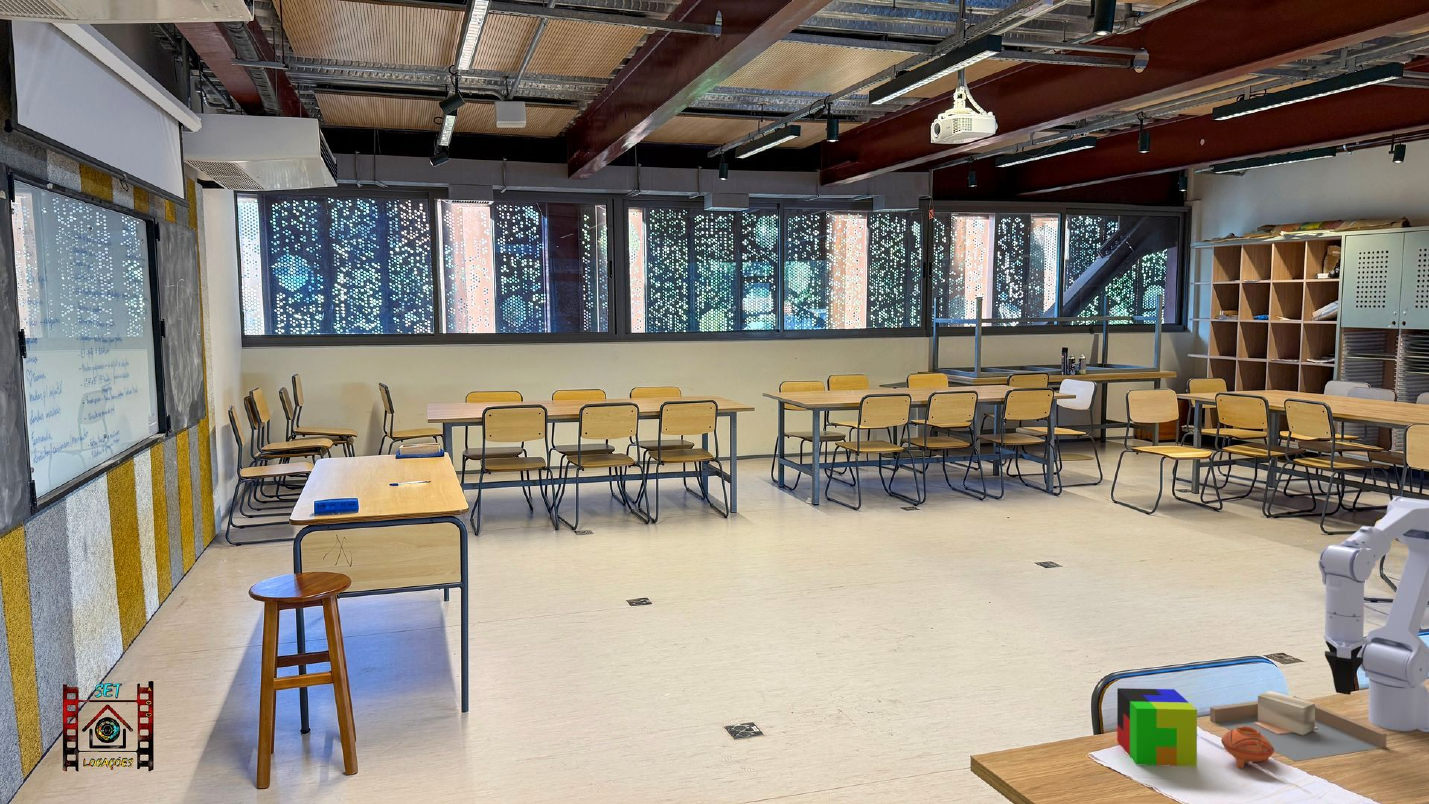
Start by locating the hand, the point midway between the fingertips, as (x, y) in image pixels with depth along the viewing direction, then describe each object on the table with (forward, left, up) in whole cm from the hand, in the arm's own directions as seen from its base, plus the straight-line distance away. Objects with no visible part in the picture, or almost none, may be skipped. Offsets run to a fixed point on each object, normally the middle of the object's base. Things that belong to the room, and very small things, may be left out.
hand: (1343, 686), depth 168 cm
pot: (+23, +2, -11) cm, 25 cm away
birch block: (+5, -8, -9) cm, 13 cm away
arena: (+6, -5, -10) cm, 13 cm away
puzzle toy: (+35, -6, -11) cm, 37 cm away
